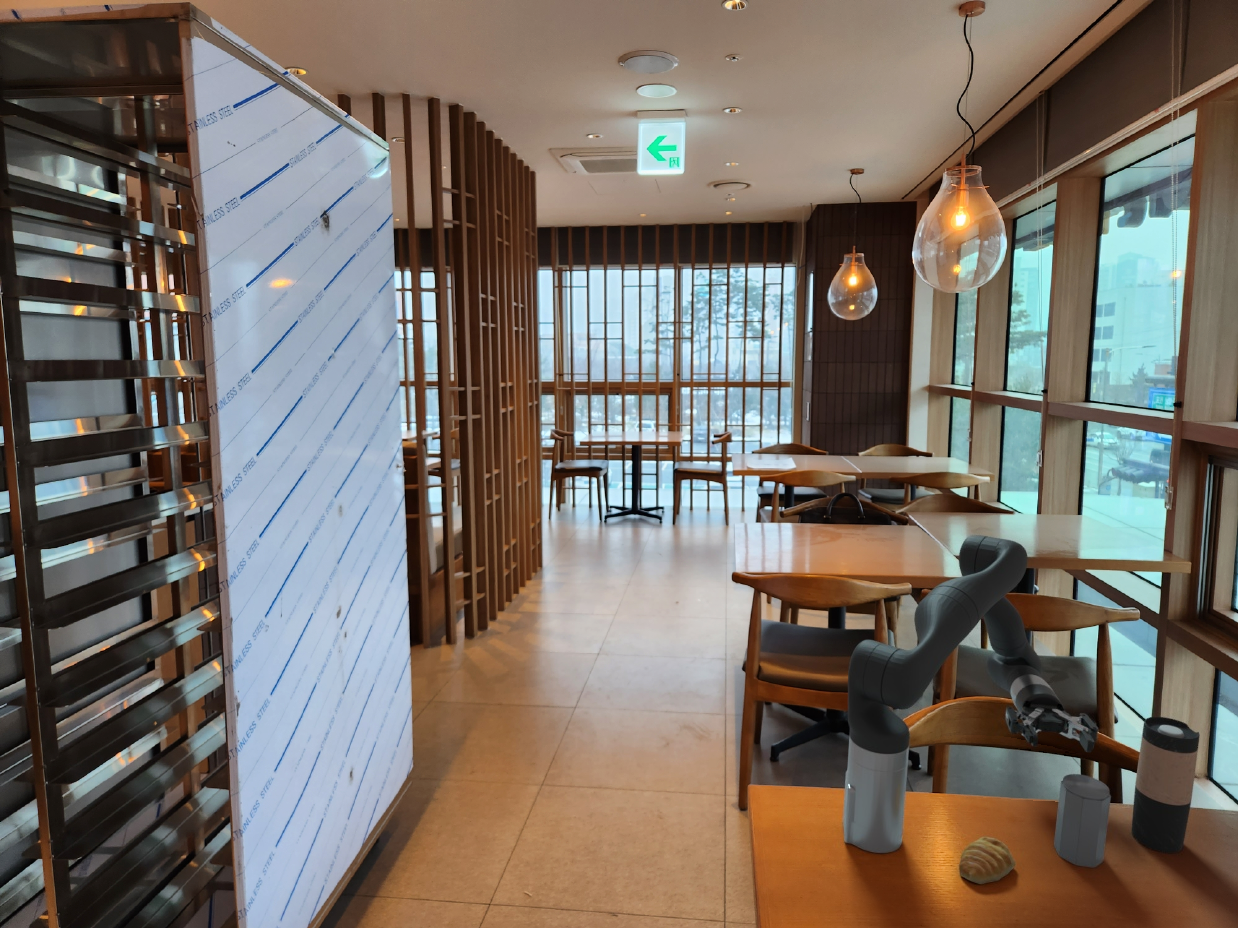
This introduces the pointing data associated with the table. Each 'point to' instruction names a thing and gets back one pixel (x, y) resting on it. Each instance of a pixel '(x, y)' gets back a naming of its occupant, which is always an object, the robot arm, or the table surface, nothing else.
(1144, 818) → the travel mug
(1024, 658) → the robot arm
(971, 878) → the pastry
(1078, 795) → the canister
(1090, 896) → the table surface
